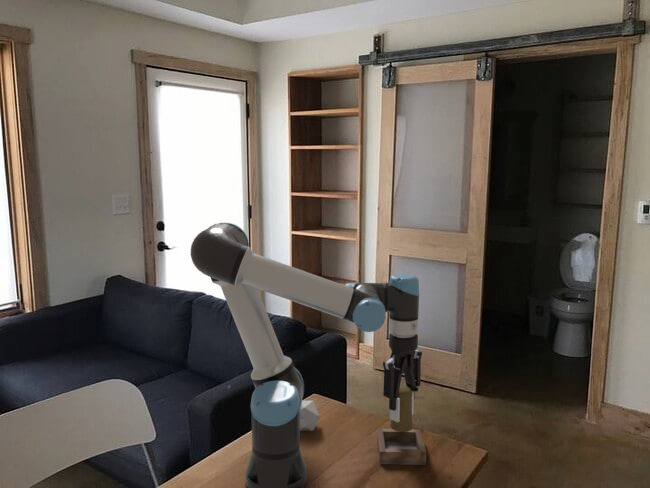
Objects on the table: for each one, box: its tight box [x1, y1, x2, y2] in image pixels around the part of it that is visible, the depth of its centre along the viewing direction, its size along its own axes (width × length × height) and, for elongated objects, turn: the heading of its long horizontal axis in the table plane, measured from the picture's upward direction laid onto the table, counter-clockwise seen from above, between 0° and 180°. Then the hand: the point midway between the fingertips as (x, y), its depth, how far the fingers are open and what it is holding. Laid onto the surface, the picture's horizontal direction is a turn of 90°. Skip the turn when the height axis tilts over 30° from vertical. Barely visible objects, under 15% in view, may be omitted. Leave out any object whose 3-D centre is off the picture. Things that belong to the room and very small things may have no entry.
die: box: [300, 400, 320, 432], centre depth 158 cm, size 8×9×10 cm
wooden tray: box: [376, 428, 427, 466], centre depth 146 cm, size 12×12×4 cm
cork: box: [390, 385, 414, 432], centre depth 144 cm, size 6×6×11 cm
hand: (401, 416), depth 144 cm, fingers closed on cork, 5 cm apart
